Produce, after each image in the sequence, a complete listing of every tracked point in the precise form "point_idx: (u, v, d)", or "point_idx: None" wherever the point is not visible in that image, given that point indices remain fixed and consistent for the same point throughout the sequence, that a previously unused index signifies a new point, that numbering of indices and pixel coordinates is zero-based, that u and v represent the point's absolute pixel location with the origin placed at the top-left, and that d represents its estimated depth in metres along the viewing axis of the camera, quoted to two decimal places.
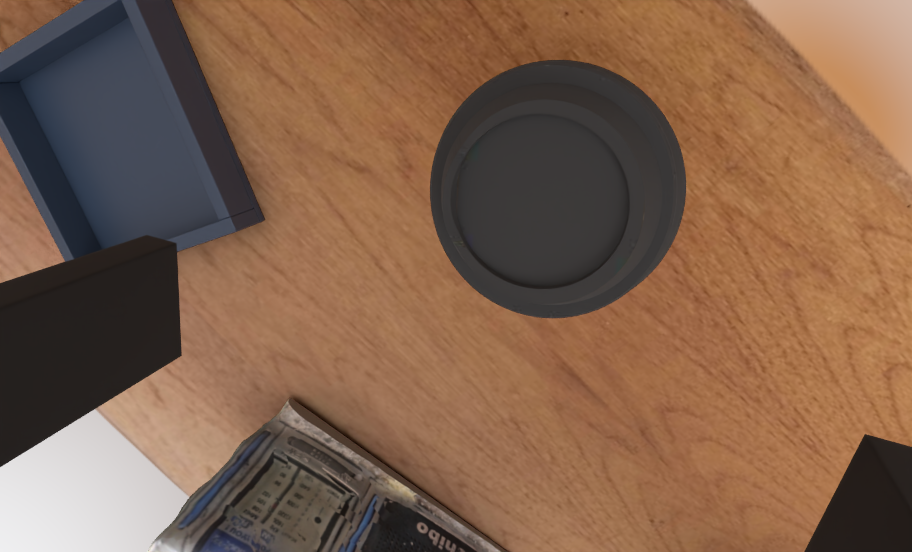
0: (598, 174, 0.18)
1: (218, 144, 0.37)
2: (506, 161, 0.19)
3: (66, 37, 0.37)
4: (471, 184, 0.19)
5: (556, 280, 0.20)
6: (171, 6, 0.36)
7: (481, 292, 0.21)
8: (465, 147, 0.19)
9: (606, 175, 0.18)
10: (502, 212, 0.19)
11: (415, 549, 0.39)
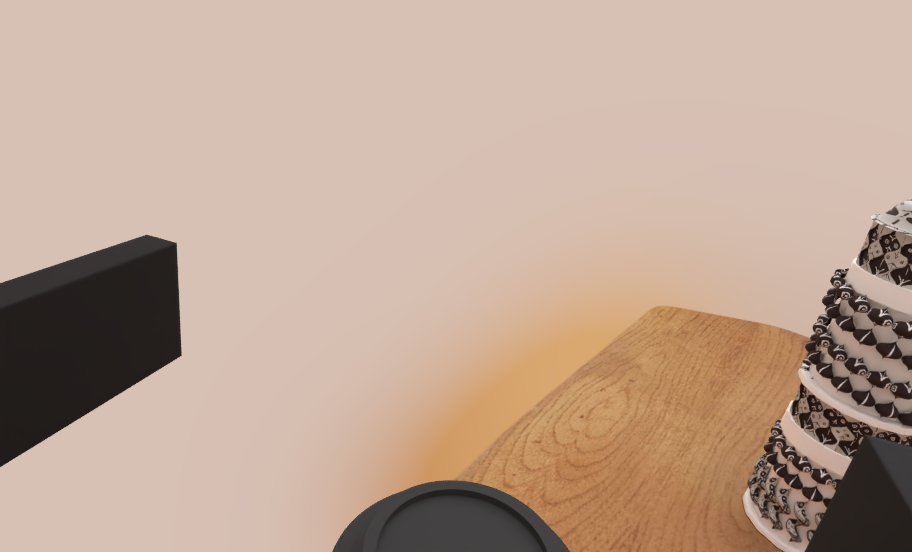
0: (426, 516, 0.20)
1: None
2: None
3: None
4: None
5: (533, 542, 0.20)
6: None
7: None
8: None
9: (426, 511, 0.21)
10: None
11: None
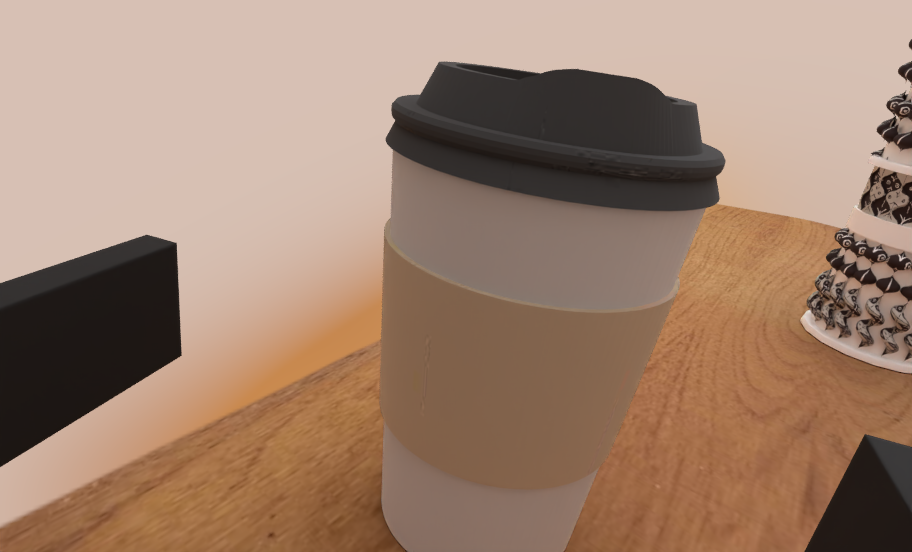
0: None
1: None
2: None
3: None
4: None
5: None
6: None
7: (721, 156, 0.14)
8: None
9: None
10: None
11: None
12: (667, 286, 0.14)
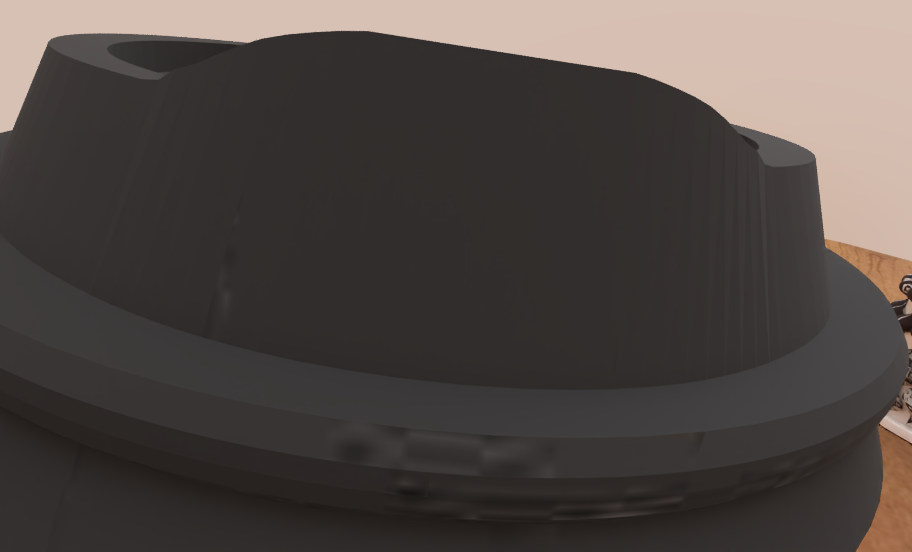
0: None
1: None
2: None
3: None
4: None
5: None
6: None
7: (886, 303, 0.05)
8: None
9: None
10: None
11: None
12: None
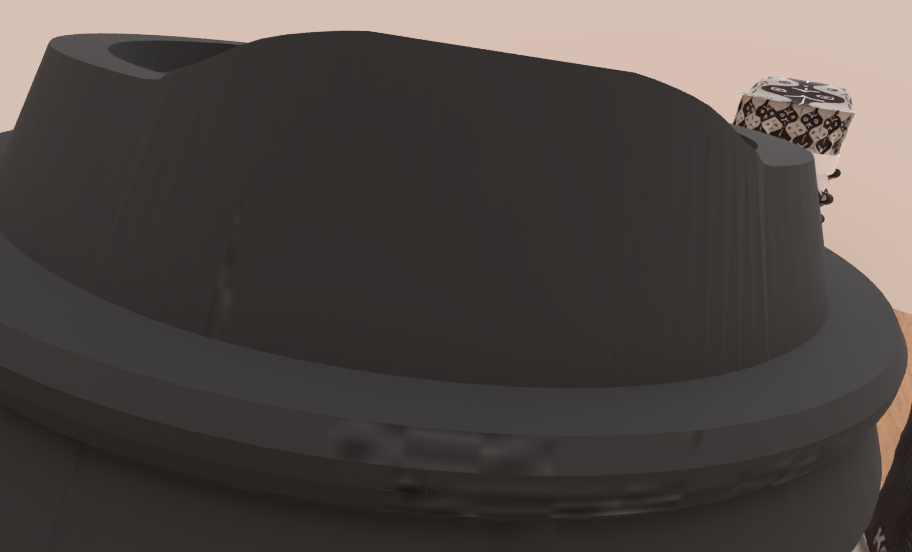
0: None
1: None
2: None
3: None
4: None
5: None
6: None
7: (885, 302, 0.05)
8: None
9: None
10: None
11: None
12: None
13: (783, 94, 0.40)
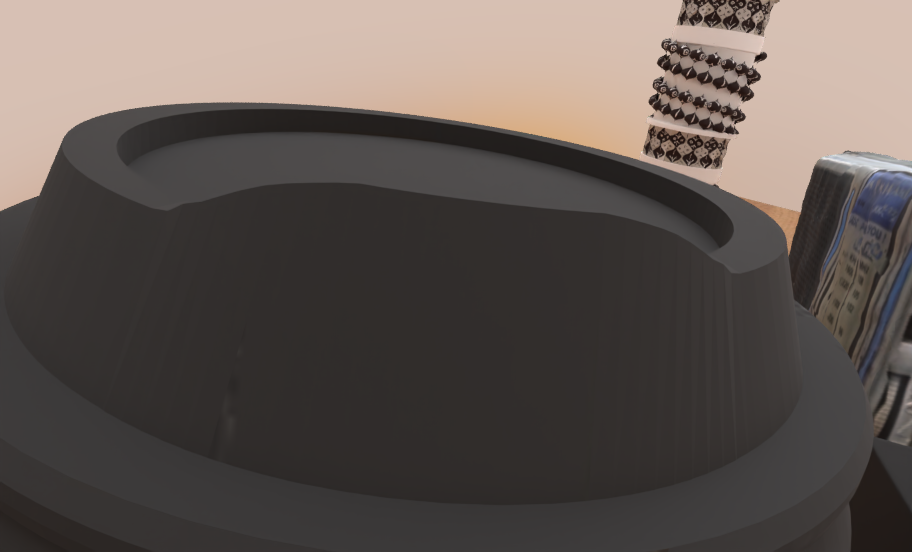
0: (342, 144, 0.08)
1: None
2: None
3: None
4: None
5: (635, 195, 0.07)
6: None
7: (856, 377, 0.05)
8: None
9: (344, 140, 0.08)
10: None
11: None
12: None
13: None
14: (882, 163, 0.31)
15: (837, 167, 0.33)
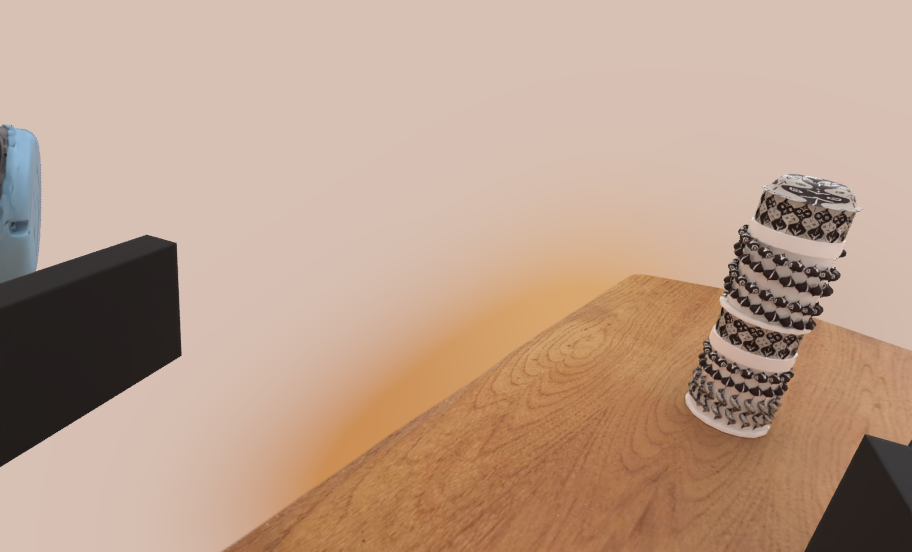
0: None
1: None
2: None
3: None
4: None
5: None
6: None
7: None
8: None
9: None
10: None
11: None
12: None
13: (799, 195, 0.49)
14: None
15: None
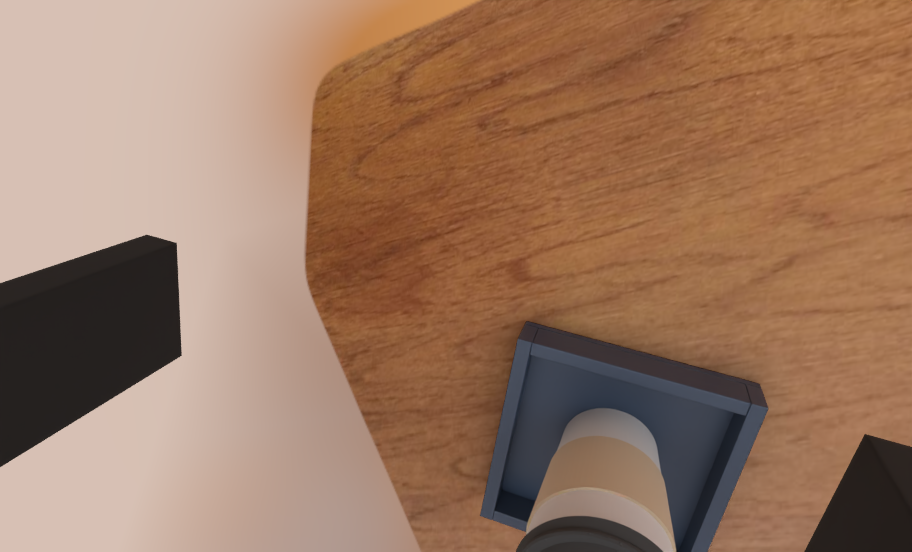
0: None
1: (674, 369, 0.38)
2: None
3: (515, 420, 0.42)
4: None
5: None
6: (546, 327, 0.41)
7: None
8: None
9: None
10: None
11: None
12: None
13: None
14: None
15: None
